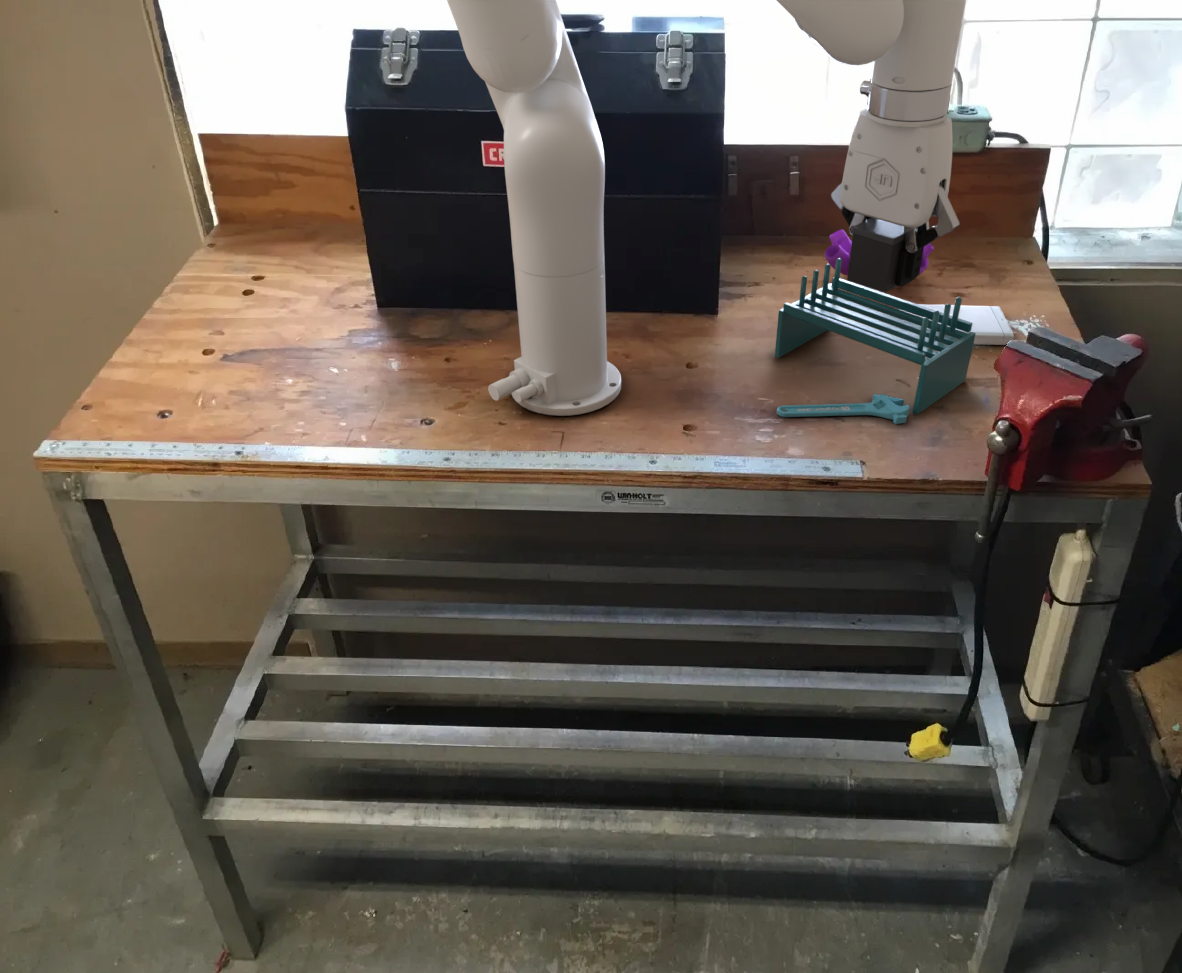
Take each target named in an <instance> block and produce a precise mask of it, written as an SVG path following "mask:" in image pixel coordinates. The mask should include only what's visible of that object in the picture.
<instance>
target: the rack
mask: <svg viewBox="0 0 1182 973" xmlns="http://www.w3.org/2000/svg"><path fill="white" fill-rule="evenodd" d="M841 262H842V260H841V259H840V258H838V259H837V260H836V267H835V269H834V277H832V279H831V283H830V274H831V265H830V264H829V263H826V264H825V265H824V272H823V279H822V280H823V282H822V287H820V288H818V284H819V276H820V271H819V270H818V269H814V270H813V273H812V274H813V275H812V282H811V292H810V293H809V294H807V285H808V284H807V282H808V276H806V275H802V276H801V280H800V281H801V282H800V291H799V299H798V300H796V301H793V302H792V303H790V302H787V301H786V302H784V303H783V307H782V308H781V309H780V308H779V310H778V315H777V326H776V336H775V337H776V339H775V350H774V357H776V358H778V359H779V358H781V357H782V356H784V355H787V354H788V353H790V352H792V351H794V350H795V349H797V348H799V347H800V346H802V345H804V344H806V343H807V342H809V341H811V340H813V339H815V338H816V337H818V336H820V335H821V334H823V333H825V332H826V331H829V332H832V333H834V334H837V335H840V336H842V337H845V338H847V339H850V340H853V341H854V342H858V343H861V344H863V345H866V346H869V347H871V348H874V349H877V350H880V351H882V352H884V353H887V354H890V355H892V356H895V357H898V358H899V359H900V358H901V359H903V360H906V361H908V362H911V363H914V364H916V365H919V366H920V371H919V376H918V382H917V387H916V392H915V397H914V403H913V407H912V414H913V415H917V416H918V415H919V414H920V413H922V412H923V411H925V410H926V409H928V408H929V407H930V406H932V405H933V404H935V403H936V402H937V401H939V400H940V399H942V398H943V397H944V396H946V395H947V394H950V392H951V391H953V390H954V389H956V388H958V387H959V386H960V385H962V384H963V383H964V382H965V381H966V380H967V374H968V370H969V366H970V361H971V357H972V352H973V347H974V344H973V343H974V339H975V334H976V333H974V332H970V331H971V328H972V323H971V322H968V321H965V320H962V319H959V318H958V316H959V311H960V306H961V305H962V302H963V298H962V297H961V296H957V297H956V298H955V302H954V305H955V306H954V311H953V316H951V315H949V314H950V309H951V305H952V304H951V303H946V304H944V305H945V308H944V313H942V312H939V311H938V310H933V309H930V308H927V307H924V306H921V305H918V304H919V303H915V302H912V301H909V300H906V299H902V298H900V297H896V296H895V295H891V294H888V293H886V292H882V291H879V290H876V289H873V288H870V287H867V286H864V285H861V284H858V283H855V282H852V281H849V280H846V279H843V278H840V276H841V273H840V270H841ZM806 294H807V295H806ZM896 308H898V309H896ZM899 309H901V310H904V311H906V312H904V311H901V310H899ZM907 312H909V313H907ZM910 313H912V314H910ZM913 314H915V315H913ZM916 315H918V316H916ZM919 316H921V317H919ZM896 317H897V318H896ZM922 317H924V318H922ZM898 318H900V319H898ZM901 319H902V320H901ZM928 319H930V320H932V321H930V320H928ZM904 320H905V321H904ZM907 321H908V322H907ZM910 322H911V323H910ZM913 323H914V324H913ZM939 323H941V324H939ZM916 324H917V325H916ZM918 325H920V326H918ZM948 326H950V327H948ZM900 328H902V329H900ZM927 328H928V329H927ZM903 329H905V330H903ZM930 329H931V330H930ZM957 329H959V330H962V331H965V332H968V333H965V332H962V331H959V330H957ZM906 330H907V331H906ZM909 331H910V332H909ZM936 331H937V332H936ZM912 332H913V333H912ZM938 332H939V333H938ZM914 333H916V334H914ZM917 334H919V335H917ZM947 335H948V336H947ZM950 336H951V337H950ZM926 337H927V338H926ZM953 337H954V338H953ZM928 338H929V339H928ZM956 338H957V339H956ZM904 339H906V340H904ZM958 339H959V340H958ZM907 340H909V341H907ZM910 341H911V342H910ZM937 341H938V342H937ZM913 342H914V343H913ZM940 342H941V343H940ZM942 343H944V344H942Z"/></svg>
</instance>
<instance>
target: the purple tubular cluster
mask: <svg viewBox="0 0 1182 973" xmlns="http://www.w3.org/2000/svg"><path fill="white" fill-rule="evenodd" d="M829 240H830V242H831V245H829V246H828V247H827V248H826V249H825V251H824V258H825V260H826V261H827V264H829V265H830V267H831V268H833V270H835V267H836V260H837V259H838V258H840V259H841V260H842V262H841V270H840V274H842V275H845V276H847V277H848V270H849V262H850V253H851V245H852V239H850V237H849V236H848V234H847V233H846V231H845V230H844V229H839V230H836V231H835V232H833V233H831V234H829ZM933 251H934V245H933V244H931V243H929V244H928V245H926V246H925V247H924V250H923V256H922V262H921V267H920V273H919V275H918V276H920V275H921V274H922V273H924V271H926V269H927V268H928V267H929V258H928V257H929V256H930V255H931V254H932V252H933Z"/></svg>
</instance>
